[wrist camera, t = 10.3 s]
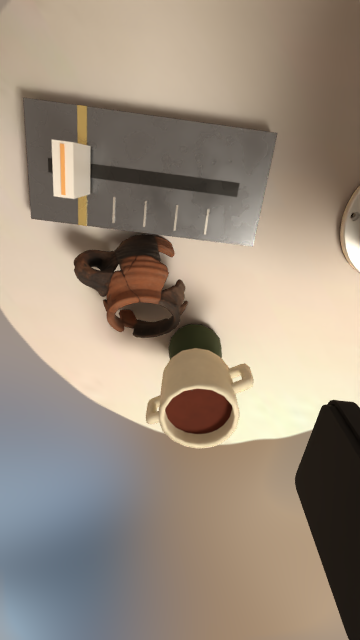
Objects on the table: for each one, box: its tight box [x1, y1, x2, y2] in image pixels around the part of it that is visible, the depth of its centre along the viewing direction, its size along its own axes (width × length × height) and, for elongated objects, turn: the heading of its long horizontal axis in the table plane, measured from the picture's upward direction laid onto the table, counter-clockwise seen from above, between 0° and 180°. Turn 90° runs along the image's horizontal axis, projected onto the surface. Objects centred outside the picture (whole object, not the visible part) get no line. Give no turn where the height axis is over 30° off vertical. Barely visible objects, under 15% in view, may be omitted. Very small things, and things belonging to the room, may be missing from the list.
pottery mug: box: [74, 234, 188, 338], centre depth 34 cm, size 12×10×8 cm
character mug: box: [146, 324, 254, 448], centre depth 34 cm, size 11×7×13 cm, turn 116°
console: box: [23, 98, 277, 246], centre depth 31 cm, size 22×10×2 cm, turn 83°
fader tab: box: [52, 140, 90, 199], centre depth 28 cm, size 2×4×5 cm, turn 173°
